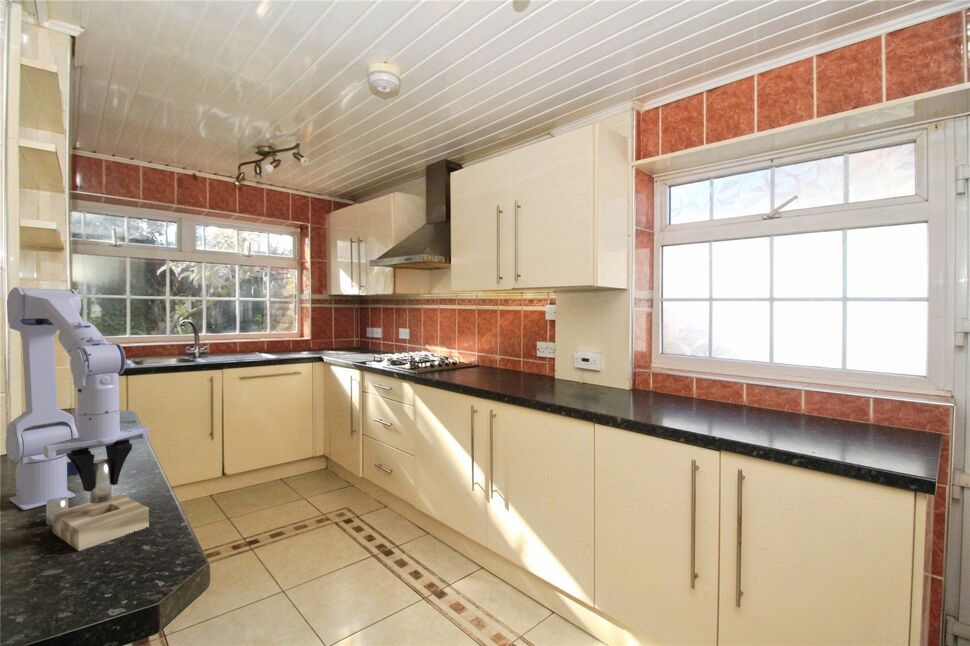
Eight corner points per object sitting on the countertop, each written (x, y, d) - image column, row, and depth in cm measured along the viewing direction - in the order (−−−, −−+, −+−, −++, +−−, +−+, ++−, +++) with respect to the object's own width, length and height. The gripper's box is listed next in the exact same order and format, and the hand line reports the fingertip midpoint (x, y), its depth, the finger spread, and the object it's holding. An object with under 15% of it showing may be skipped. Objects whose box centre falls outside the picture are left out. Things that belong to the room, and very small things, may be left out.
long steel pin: (87, 500, 82) (86, 462, 82) (108, 495, 84) (107, 457, 84) (93, 504, 80) (92, 465, 80) (114, 499, 83) (113, 460, 82)
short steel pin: (44, 522, 85) (44, 500, 85) (65, 516, 88) (65, 495, 88) (49, 526, 83) (48, 504, 83) (70, 520, 86) (70, 499, 86)
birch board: (52, 532, 81) (52, 512, 81) (120, 511, 90) (120, 493, 90) (78, 551, 75) (78, 530, 75) (148, 526, 83) (148, 507, 83)
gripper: (53, 423, 73) (55, 506, 74) (155, 407, 86) (157, 478, 86) (38, 417, 77) (40, 497, 77) (138, 402, 89) (140, 471, 90)
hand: (100, 486), depth 82 cm, fingers closed on long steel pin, 3 cm apart
